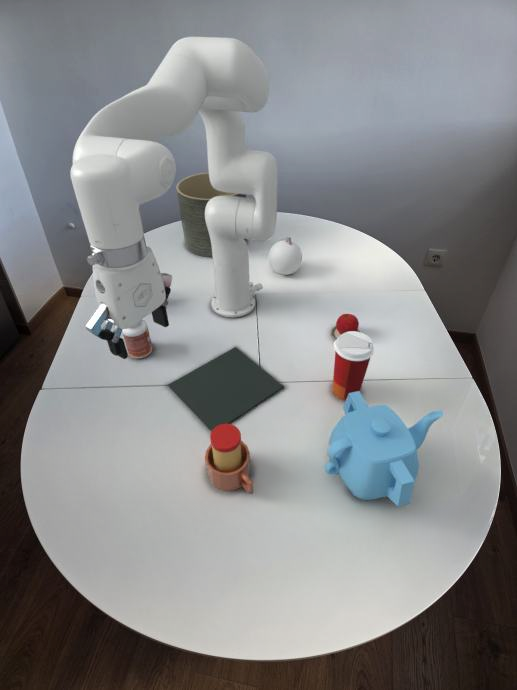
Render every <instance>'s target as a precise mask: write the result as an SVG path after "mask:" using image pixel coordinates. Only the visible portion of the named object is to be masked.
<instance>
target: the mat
mask: <svg viewBox="0 0 517 690" xmlns="http://www.w3.org/2000/svg"><path fill="white" fill-rule="evenodd" d="M167 386H168V387H169V388H170V389H171V390H172V391H173V393H174V394H175V395H176V396H177V397H178V398H179V399H180V400H181V402H183V403H184V404H185V405H186V406H187V408H189V410H190V411H191V412H192V413H193V414H194V415H195V416H196V417H197V418H198V419H199V420H200V421H201V422H202V423H203V424H204V425H205V426H206V427H207V429H208V430H209V431H210V432H212V430H213V429H214V428H215V427H217V426H218V425H221V424H232V423H233V422H235V421H236V420H237V419H239V418H241V417H243V416H244V415H245V414H246V413H248V412H250V411H252V409H254V408H255V407H257V406H258V405H261V403H263V402H264V401H266V400H267V399H269V398H271V397H272V396H274V395H275V394H277V393H278V392H280V391H281V390H283V389H284V388H285V386H284V385H283V384H282V383H280V382H279V381H278V380H277V379H275V378H274V377H273V376H272V375H270V373H268V372H267V371H266V370H265V369H264V368H263V367H261V366H260V365H258V364H257V362H255V361H254V360H252V359H251V358H250V357H249V356H247V355H246V354H245V353H244V352H243V351H241V349H239V348H238V347H236V346H234V347H233V348H231V349H229V350H227V351H226V352H223V353H222V354H221V355H218V356H216V357H215V358H213V359H212V360H210V361H207V362H206V363H204V364H203V365H201V366H199V367H197V368H195V369H194V370H191V371H190V372H188V373H186V374H185V375H183V376H181V377H179V378H178V379H175V380H174V381H172V382H170V383H168V385H167Z"/></svg>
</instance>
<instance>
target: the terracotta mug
mask: <svg viewBox="0 0 517 690" xmlns="http://www.w3.org/2000/svg"><path fill="white" fill-rule="evenodd" d="M241 457H242V467H241V468H239V469H238V470H237V471H233V472H230V473H223V472H219V471H217V470H215V466H214V458H213V451H212V445H211V443H210V444H209V445H208V447H207V448H206V450H205V455H204V462H205V468H206V473H207V478H208V481H209V483H210V484H211V485H212V486H213V487H215V488H216V489H218V490H221V491H225V492H229V491H230V492H231V491H236V490H237V489H239V488H241V487H242V488H243V489H244V490H245V492H246V493H247V494H248V495H253V493H254V481H253V480H252V479H251V478H250V474H251V453H250V450H249V448H248V445H247V444H246V443H245V442H244V441H243V440H242V439H241Z"/></svg>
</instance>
